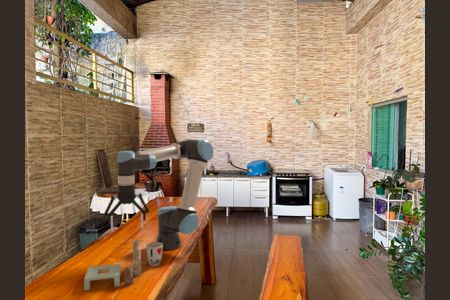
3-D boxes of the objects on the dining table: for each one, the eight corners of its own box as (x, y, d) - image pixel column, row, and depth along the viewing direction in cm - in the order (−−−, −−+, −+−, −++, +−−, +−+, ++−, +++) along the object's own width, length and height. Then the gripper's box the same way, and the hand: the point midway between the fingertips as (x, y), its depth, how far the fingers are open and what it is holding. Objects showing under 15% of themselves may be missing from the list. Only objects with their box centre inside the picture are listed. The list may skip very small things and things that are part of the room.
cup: (148, 268, 151) (147, 248, 151) (145, 262, 159) (145, 243, 158) (164, 265, 154) (164, 246, 154) (161, 259, 162) (160, 241, 161)
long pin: (141, 272, 147) (140, 239, 146) (141, 275, 143) (140, 242, 143) (133, 273, 146) (133, 240, 145) (133, 276, 142) (132, 242, 142)
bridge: (120, 273, 145) (120, 263, 145) (119, 285, 134) (119, 274, 134) (89, 277, 142) (88, 267, 141) (84, 290, 130) (84, 278, 130)
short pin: (133, 281, 138) (132, 266, 138) (132, 285, 135) (132, 269, 134) (125, 282, 137) (124, 267, 137) (124, 286, 134) (124, 270, 134)
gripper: (152, 181, 151) (153, 224, 152) (98, 184, 143) (99, 229, 144) (154, 183, 144) (155, 228, 145) (97, 187, 136) (98, 234, 137)
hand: (127, 228), depth 145 cm, fingers open, 13 cm apart
